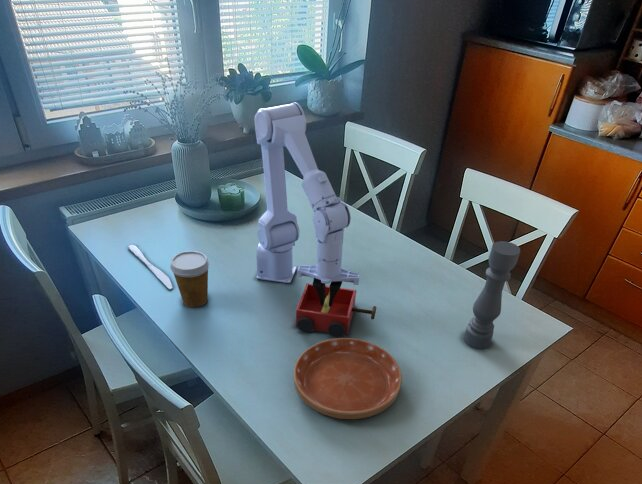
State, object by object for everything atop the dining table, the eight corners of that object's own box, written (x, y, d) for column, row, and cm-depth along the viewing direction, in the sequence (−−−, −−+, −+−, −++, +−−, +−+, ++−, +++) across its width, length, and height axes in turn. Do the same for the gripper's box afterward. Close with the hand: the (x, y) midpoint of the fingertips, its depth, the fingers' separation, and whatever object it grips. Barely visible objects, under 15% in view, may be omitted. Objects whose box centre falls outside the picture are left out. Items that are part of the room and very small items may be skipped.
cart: (295, 327, 126) (296, 310, 122) (306, 299, 134) (306, 282, 130) (347, 335, 124) (348, 318, 120) (354, 307, 132) (356, 289, 128)
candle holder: (485, 352, 120) (517, 259, 103) (459, 342, 122) (486, 250, 105) (493, 337, 124) (525, 246, 107) (468, 328, 126) (495, 237, 109)
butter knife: (136, 242, 152) (127, 245, 151) (177, 286, 137) (166, 289, 135) (137, 244, 153) (127, 246, 151) (177, 288, 137) (167, 291, 136)
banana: (325, 300, 130) (327, 287, 128) (332, 301, 130) (334, 288, 127) (319, 319, 125) (320, 306, 122) (326, 320, 124) (328, 307, 122)
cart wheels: (296, 331, 125) (296, 318, 122) (309, 297, 135) (309, 284, 132) (370, 342, 122) (371, 329, 119) (377, 307, 132) (379, 294, 129)
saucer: (320, 438, 100) (321, 426, 98) (278, 364, 116) (277, 352, 113) (420, 405, 107) (423, 393, 105) (367, 339, 123) (369, 327, 120)
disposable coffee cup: (220, 293, 135) (215, 253, 127) (203, 314, 129) (197, 273, 121) (187, 286, 138) (181, 246, 129) (169, 306, 131) (161, 266, 123)
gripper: (294, 260, 115) (294, 308, 124) (358, 268, 113) (353, 317, 122) (301, 244, 120) (300, 292, 129) (363, 252, 118) (357, 300, 127)
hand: (326, 303), depth 126 cm, fingers closed on banana, 1 cm apart
